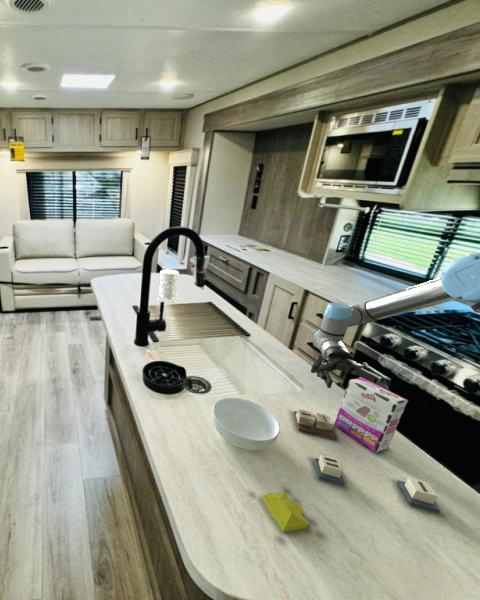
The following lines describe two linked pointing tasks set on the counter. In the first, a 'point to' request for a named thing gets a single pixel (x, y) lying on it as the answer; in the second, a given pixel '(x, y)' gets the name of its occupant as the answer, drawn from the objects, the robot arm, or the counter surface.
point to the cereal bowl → (245, 423)
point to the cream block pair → (314, 424)
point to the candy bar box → (370, 414)
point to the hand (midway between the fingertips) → (357, 389)
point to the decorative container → (168, 284)
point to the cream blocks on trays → (412, 489)
